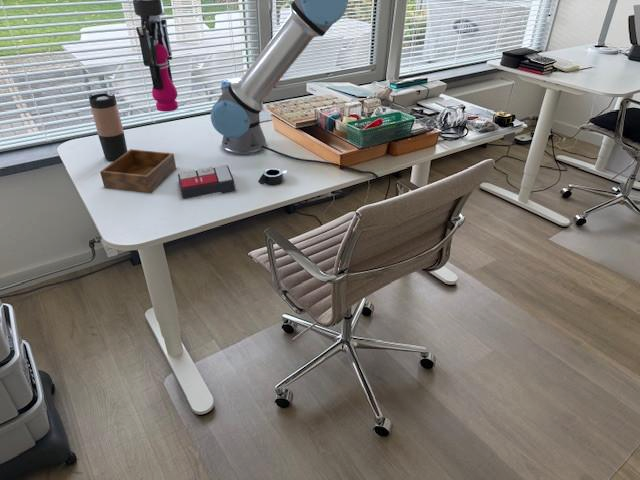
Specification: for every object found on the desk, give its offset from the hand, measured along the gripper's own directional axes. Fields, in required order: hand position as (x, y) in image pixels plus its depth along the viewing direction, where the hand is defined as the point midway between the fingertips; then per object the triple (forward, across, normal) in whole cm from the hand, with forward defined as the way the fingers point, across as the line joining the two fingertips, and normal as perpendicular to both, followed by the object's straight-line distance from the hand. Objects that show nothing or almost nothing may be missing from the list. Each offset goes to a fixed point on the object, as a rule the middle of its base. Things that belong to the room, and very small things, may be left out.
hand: (163, 85), depth 137 cm
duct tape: (+25, +8, +34) cm, 43 cm away
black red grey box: (+25, +15, +16) cm, 33 cm away
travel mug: (+24, +1, -21) cm, 32 cm away
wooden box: (+24, +14, -6) cm, 28 cm away
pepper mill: (+7, 0, 0) cm, 7 cm away
